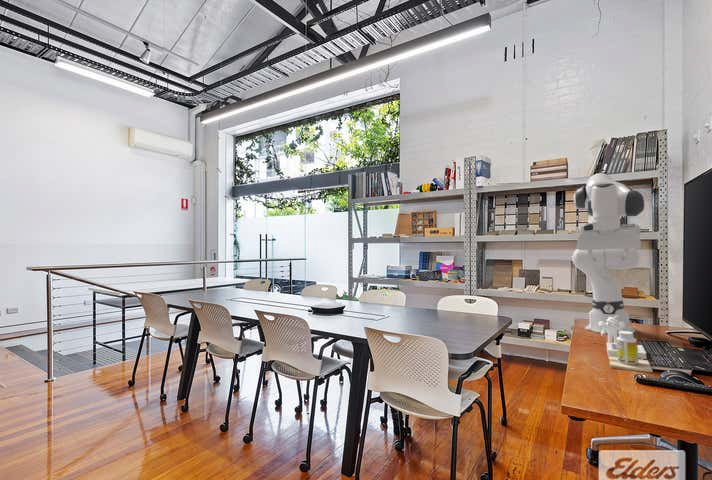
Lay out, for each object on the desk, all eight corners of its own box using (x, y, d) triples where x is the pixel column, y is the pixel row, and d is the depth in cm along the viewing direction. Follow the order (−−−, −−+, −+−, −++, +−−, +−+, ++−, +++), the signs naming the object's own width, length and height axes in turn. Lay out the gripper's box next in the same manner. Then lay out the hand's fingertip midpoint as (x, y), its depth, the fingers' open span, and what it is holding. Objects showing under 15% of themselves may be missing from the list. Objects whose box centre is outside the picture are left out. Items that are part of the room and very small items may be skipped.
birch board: (608, 358, 133) (608, 356, 133) (647, 362, 127) (647, 359, 127) (610, 368, 123) (610, 365, 123) (652, 372, 118) (652, 369, 118)
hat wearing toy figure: (625, 344, 149) (623, 314, 149) (628, 346, 145) (625, 316, 146) (599, 342, 153) (597, 313, 153) (601, 345, 149) (598, 315, 149)
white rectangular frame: (606, 349, 144) (606, 342, 144) (642, 351, 138) (641, 345, 138) (608, 357, 135) (608, 350, 135) (646, 360, 129) (646, 353, 129)
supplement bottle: (640, 362, 125) (638, 331, 125) (635, 366, 122) (633, 335, 122) (620, 358, 129) (618, 329, 130) (615, 362, 126) (613, 332, 126)
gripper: (639, 223, 139) (641, 260, 139) (576, 227, 150) (578, 261, 150) (641, 222, 134) (644, 261, 134) (575, 227, 145) (578, 262, 144)
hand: (608, 261), depth 142 cm, fingers open, 8 cm apart
